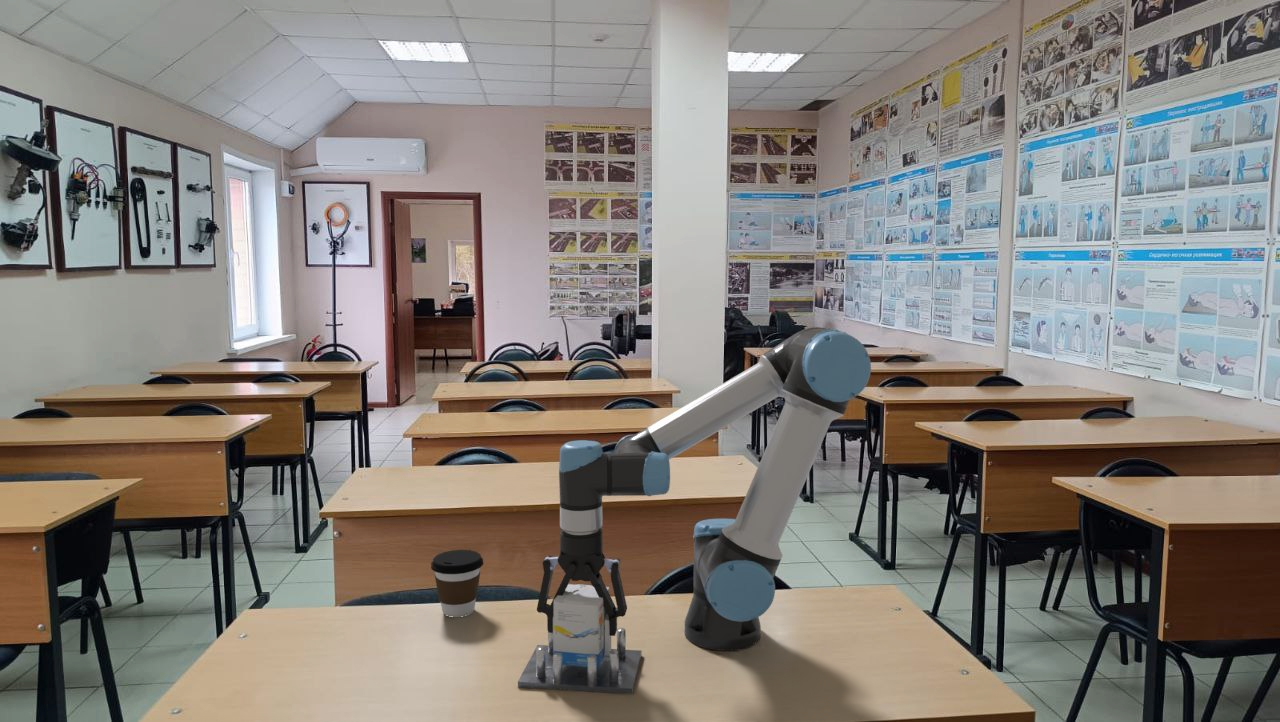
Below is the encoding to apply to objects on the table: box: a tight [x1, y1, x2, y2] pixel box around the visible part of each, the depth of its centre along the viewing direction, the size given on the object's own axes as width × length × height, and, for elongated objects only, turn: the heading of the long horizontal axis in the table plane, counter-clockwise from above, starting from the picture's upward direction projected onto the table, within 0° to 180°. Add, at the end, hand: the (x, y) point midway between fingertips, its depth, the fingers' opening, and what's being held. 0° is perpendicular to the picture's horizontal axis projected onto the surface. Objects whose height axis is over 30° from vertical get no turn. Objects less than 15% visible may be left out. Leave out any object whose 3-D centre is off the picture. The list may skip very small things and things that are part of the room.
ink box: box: [553, 583, 610, 668], centre depth 141 cm, size 9×8×12 cm
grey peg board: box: [517, 627, 642, 695], centre depth 141 cm, size 20×15×6 cm
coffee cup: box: [430, 549, 484, 617], centre depth 166 cm, size 11×11×12 cm
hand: (582, 650), depth 141 cm, fingers closed on ink box, 9 cm apart
